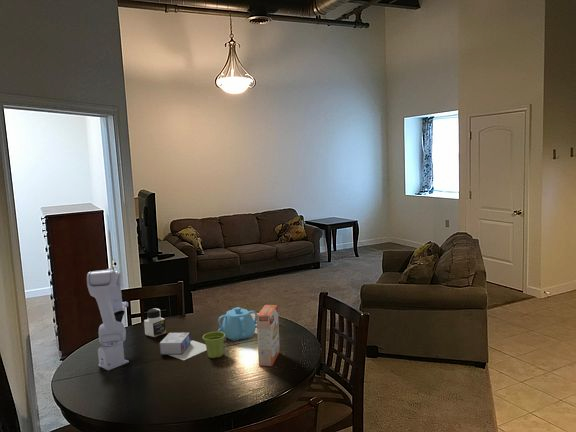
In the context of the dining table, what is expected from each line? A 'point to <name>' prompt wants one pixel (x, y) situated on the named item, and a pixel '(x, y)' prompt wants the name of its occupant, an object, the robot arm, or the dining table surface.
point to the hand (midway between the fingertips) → (117, 327)
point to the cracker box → (268, 335)
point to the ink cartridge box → (175, 343)
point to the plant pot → (214, 343)
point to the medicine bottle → (154, 323)
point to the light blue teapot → (238, 324)
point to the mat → (191, 350)
